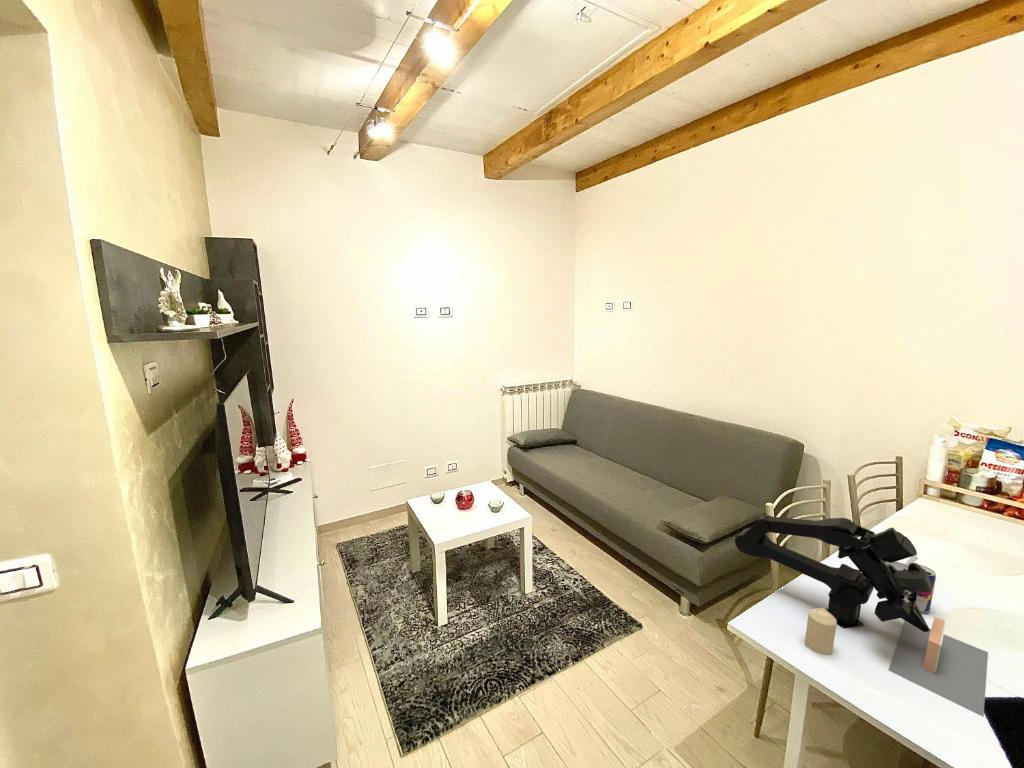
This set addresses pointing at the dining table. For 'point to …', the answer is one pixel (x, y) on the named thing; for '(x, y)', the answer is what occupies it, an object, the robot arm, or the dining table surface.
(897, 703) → the dining table surface
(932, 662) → the tile
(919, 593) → the energy drink
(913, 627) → the mat
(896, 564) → the small pan
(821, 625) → the candle
